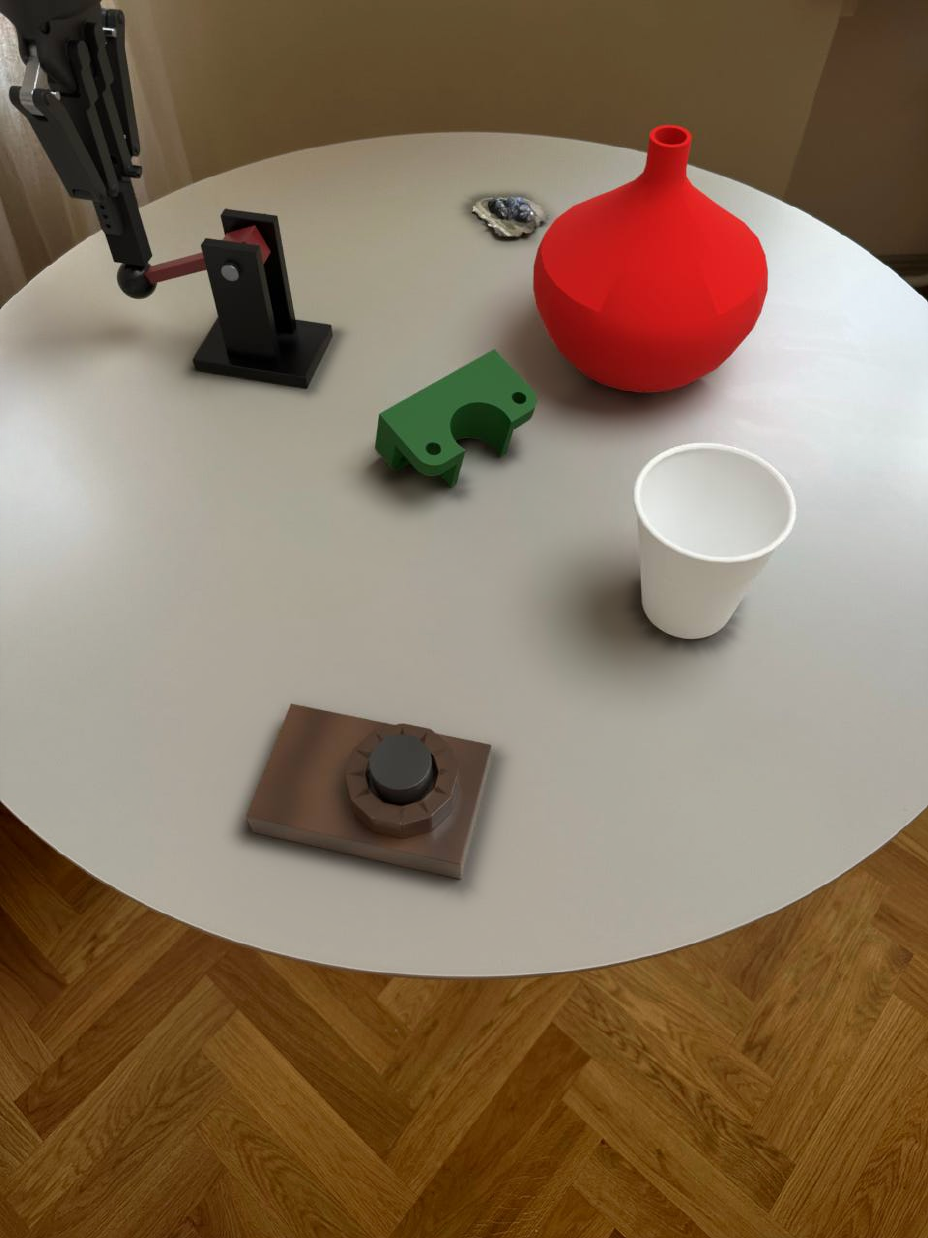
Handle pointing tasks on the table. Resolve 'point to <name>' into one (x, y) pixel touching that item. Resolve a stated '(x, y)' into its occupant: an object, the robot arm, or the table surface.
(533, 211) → the grey flat irregular piece
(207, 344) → the black bracket
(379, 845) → the button block
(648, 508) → the cup
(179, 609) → the table surface
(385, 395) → the table surface
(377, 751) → the button
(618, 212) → the vase
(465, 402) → the clamp
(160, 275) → the ball knob lever
